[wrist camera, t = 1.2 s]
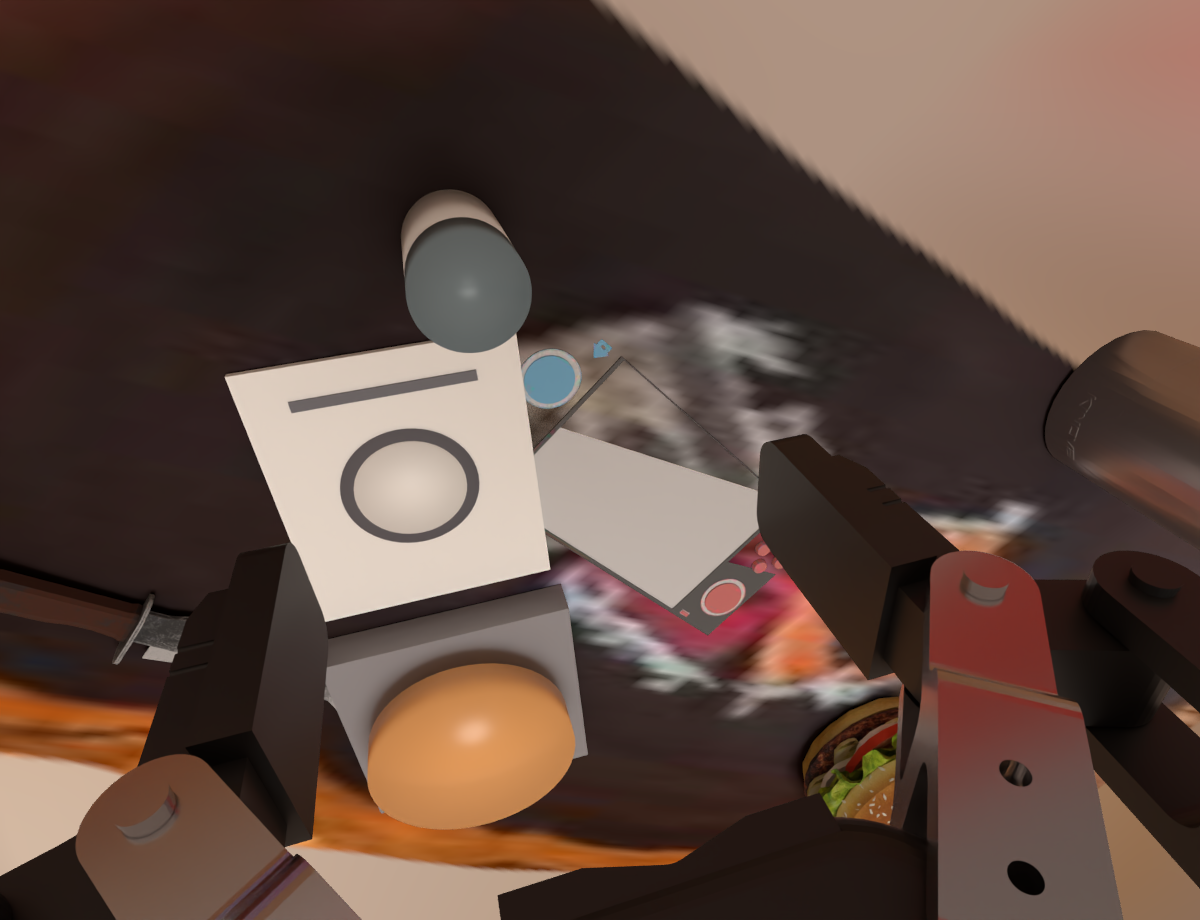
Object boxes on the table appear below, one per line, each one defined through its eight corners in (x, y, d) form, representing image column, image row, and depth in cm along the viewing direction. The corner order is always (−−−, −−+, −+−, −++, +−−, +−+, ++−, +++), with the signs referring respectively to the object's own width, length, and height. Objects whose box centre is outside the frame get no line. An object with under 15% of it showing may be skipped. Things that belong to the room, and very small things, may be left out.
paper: (514, 326, 30) (516, 330, 30) (549, 566, 38) (550, 571, 38) (226, 374, 28) (223, 378, 28) (323, 618, 36) (323, 624, 35)
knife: (444, 729, 45) (488, 678, 43) (448, 756, 43) (493, 704, 42) (-66, 615, 30) (-25, 534, 29) (-90, 650, 29) (-47, 566, 27)
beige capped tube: (493, 183, 27) (523, 222, 21) (507, 282, 29) (538, 342, 24) (390, 196, 26) (392, 241, 21) (412, 296, 29) (420, 362, 23)
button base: (560, 584, 39) (568, 608, 37) (580, 728, 46) (587, 754, 44) (322, 640, 37) (319, 669, 35) (381, 784, 44) (381, 813, 42)
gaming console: (826, 534, 42) (709, 639, 44) (820, 527, 43) (704, 631, 45) (570, 307, 30) (427, 465, 33) (567, 302, 31) (426, 457, 33)
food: (951, 742, 61) (1020, 828, 54) (808, 814, 60) (860, 909, 54) (939, 651, 53) (1018, 739, 46) (774, 733, 53) (830, 833, 46)
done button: (557, 641, 37) (565, 670, 35) (575, 765, 43) (583, 795, 41) (343, 695, 35) (341, 728, 33) (394, 817, 41) (394, 850, 39)
